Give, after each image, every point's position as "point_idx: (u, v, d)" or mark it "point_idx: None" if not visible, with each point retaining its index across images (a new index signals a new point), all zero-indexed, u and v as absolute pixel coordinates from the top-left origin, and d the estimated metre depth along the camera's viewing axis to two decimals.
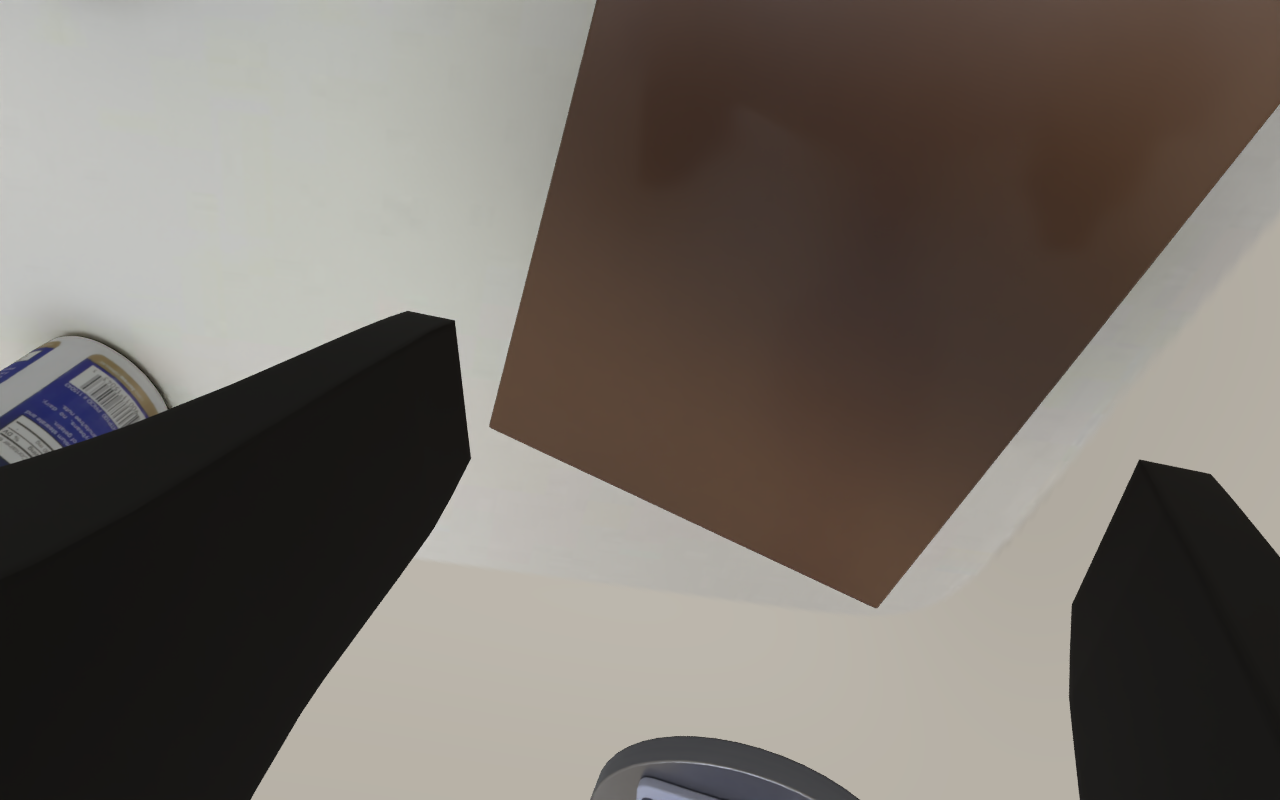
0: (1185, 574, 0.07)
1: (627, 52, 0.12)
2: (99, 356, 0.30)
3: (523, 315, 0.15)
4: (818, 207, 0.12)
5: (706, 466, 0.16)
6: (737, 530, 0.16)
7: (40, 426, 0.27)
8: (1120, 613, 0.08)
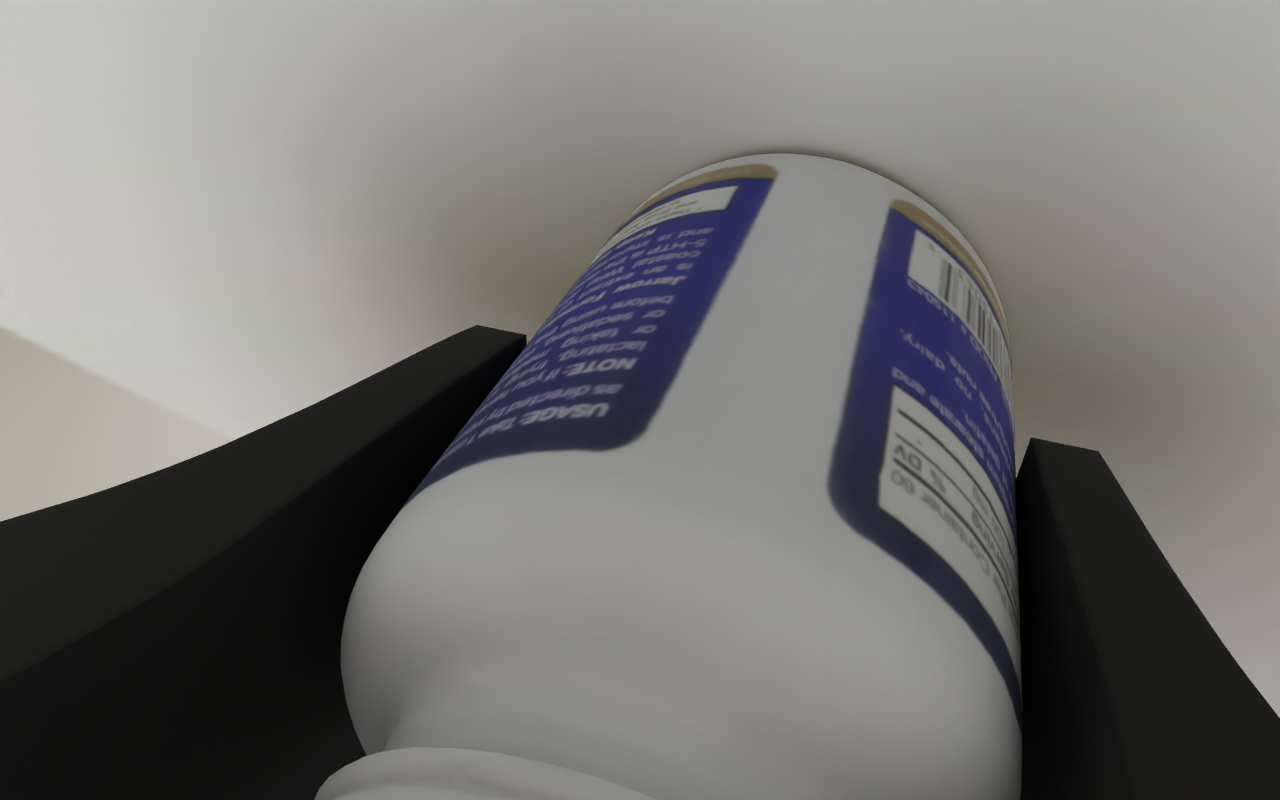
0: (1053, 544, 0.07)
1: None
2: (909, 205, 0.09)
3: None
4: None
5: None
6: None
7: (950, 429, 0.07)
8: None
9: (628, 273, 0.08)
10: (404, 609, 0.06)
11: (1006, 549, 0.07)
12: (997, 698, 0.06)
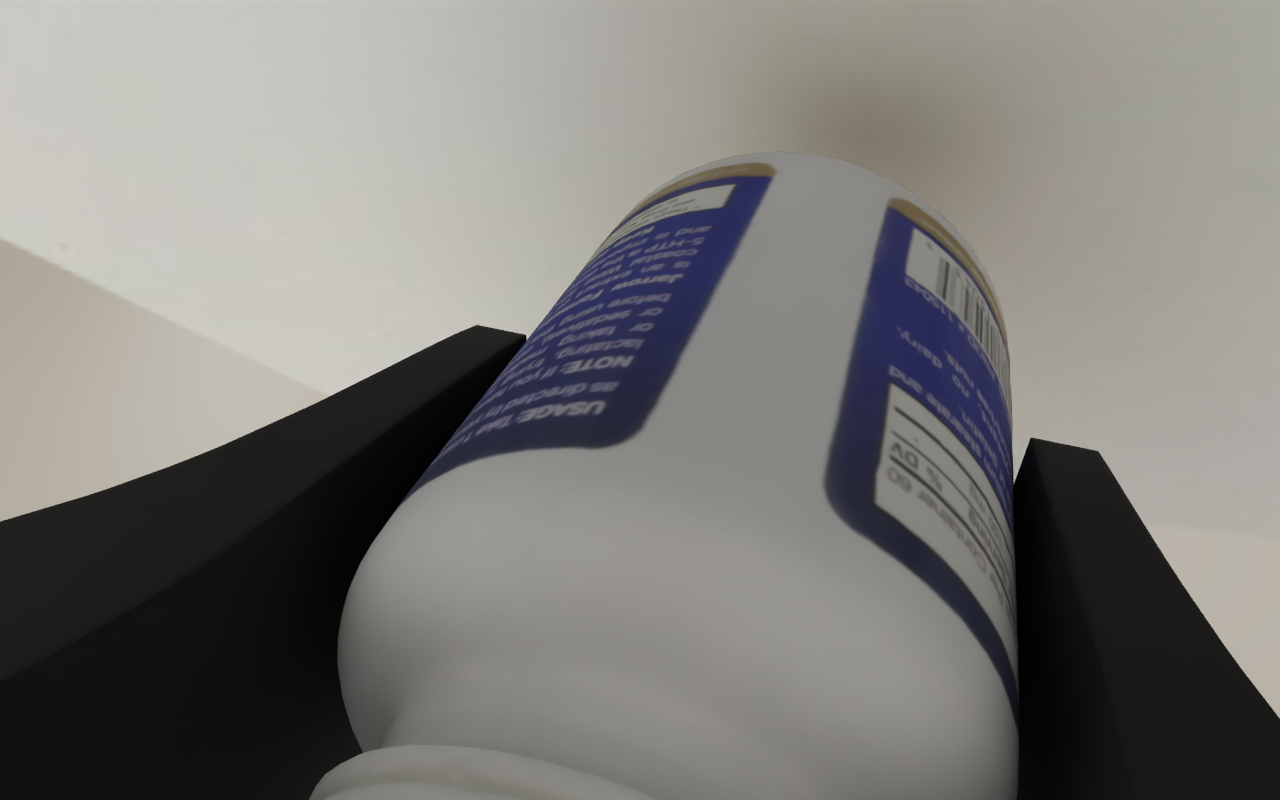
0: (1052, 544, 0.07)
1: None
2: (906, 204, 0.09)
3: None
4: None
5: None
6: None
7: (948, 426, 0.07)
8: None
9: (625, 270, 0.08)
10: (399, 606, 0.06)
11: (1003, 547, 0.07)
12: (994, 695, 0.06)
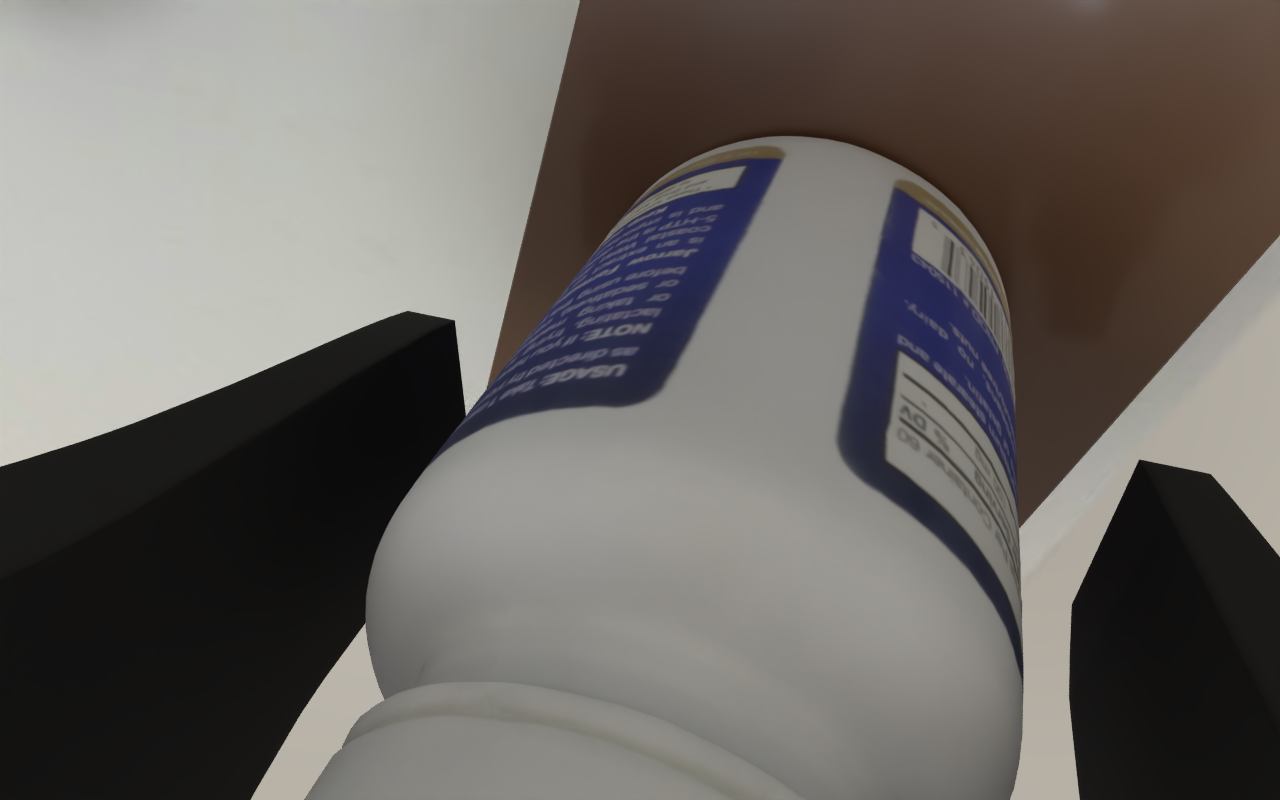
0: (1185, 574, 0.07)
1: (601, 112, 0.11)
2: (912, 186, 0.10)
3: None
4: None
5: None
6: None
7: (954, 395, 0.07)
8: (1120, 614, 0.08)
9: (642, 247, 0.08)
10: (430, 559, 0.06)
11: (1007, 509, 0.07)
12: (999, 643, 0.06)
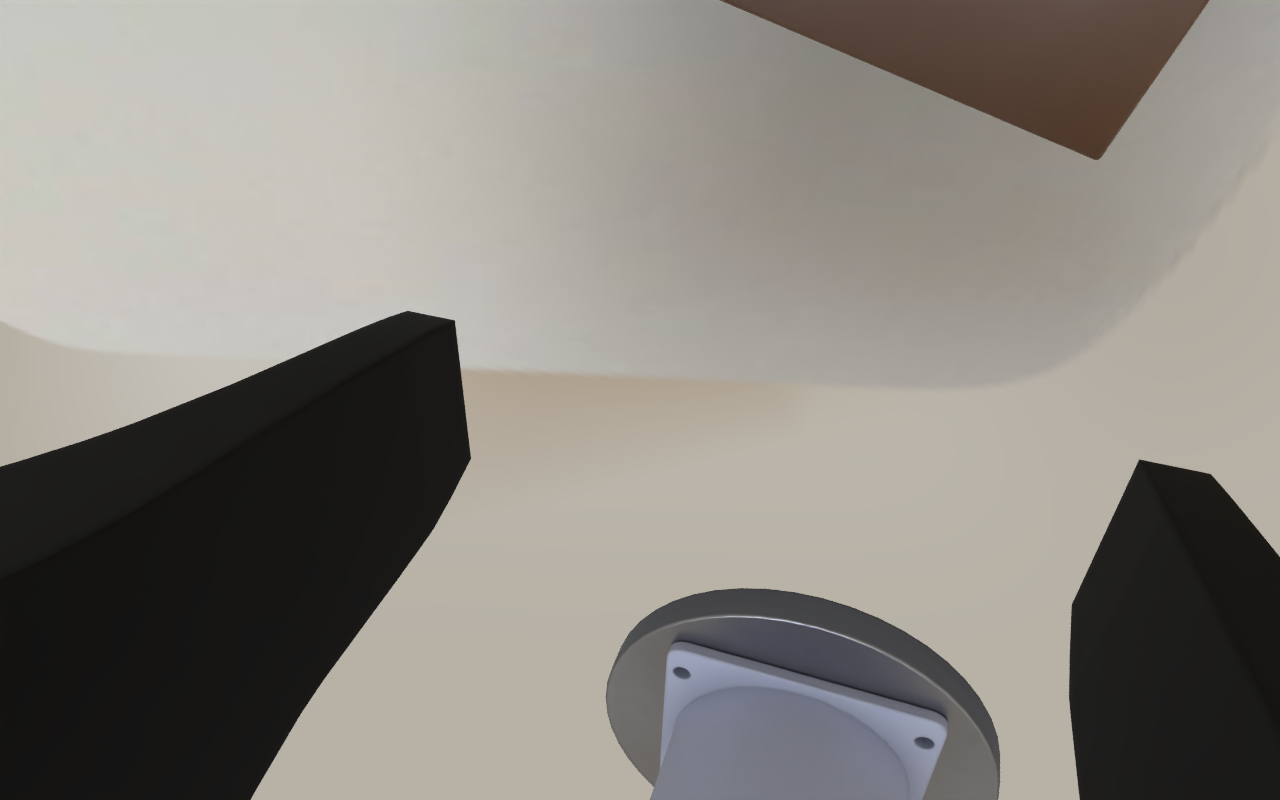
0: (1185, 574, 0.07)
1: None
2: None
3: None
4: None
5: None
6: (876, 33, 0.10)
7: None
8: (1118, 613, 0.08)
9: None
10: None
11: None
12: None
